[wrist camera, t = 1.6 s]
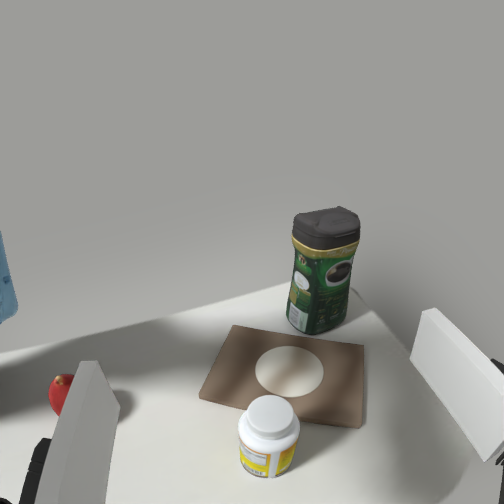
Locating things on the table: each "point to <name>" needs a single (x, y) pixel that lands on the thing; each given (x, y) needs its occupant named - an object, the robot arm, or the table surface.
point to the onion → (59, 391)
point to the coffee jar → (322, 268)
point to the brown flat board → (289, 375)
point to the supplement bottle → (268, 436)
